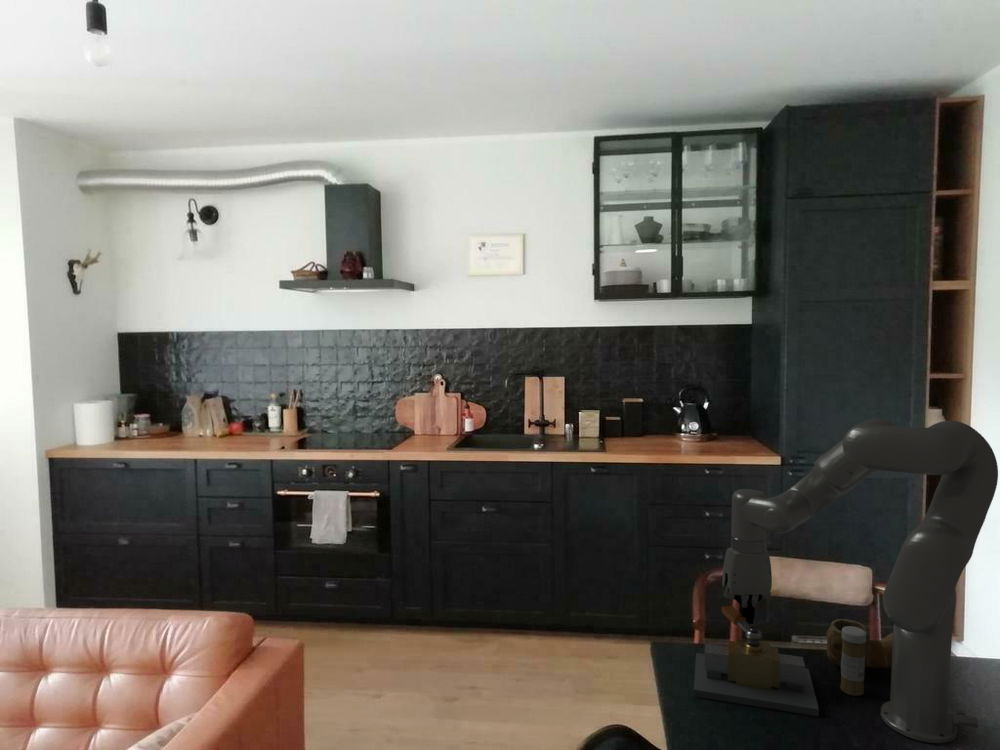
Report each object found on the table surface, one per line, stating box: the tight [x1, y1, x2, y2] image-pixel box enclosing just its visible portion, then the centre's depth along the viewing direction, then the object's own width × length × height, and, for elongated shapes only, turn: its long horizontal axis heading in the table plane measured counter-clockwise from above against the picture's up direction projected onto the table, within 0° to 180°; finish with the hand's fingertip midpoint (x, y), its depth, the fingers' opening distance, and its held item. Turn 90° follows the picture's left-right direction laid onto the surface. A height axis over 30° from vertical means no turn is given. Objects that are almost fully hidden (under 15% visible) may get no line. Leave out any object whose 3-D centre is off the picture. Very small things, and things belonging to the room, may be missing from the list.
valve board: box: [693, 652, 820, 717], centre depth 143 cm, size 24×16×2 cm, turn 72°
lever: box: [721, 605, 763, 641], centre depth 148 cm, size 14×3×2 cm, turn 7°
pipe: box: [825, 618, 893, 670], centre depth 149 cm, size 9×16×10 cm, turn 82°
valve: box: [704, 637, 806, 692], centre depth 143 cm, size 20×7×9 cm, turn 72°
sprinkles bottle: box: [839, 626, 866, 697], centre depth 140 cm, size 5×5×13 cm
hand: (746, 621), depth 153 cm, fingers closed
